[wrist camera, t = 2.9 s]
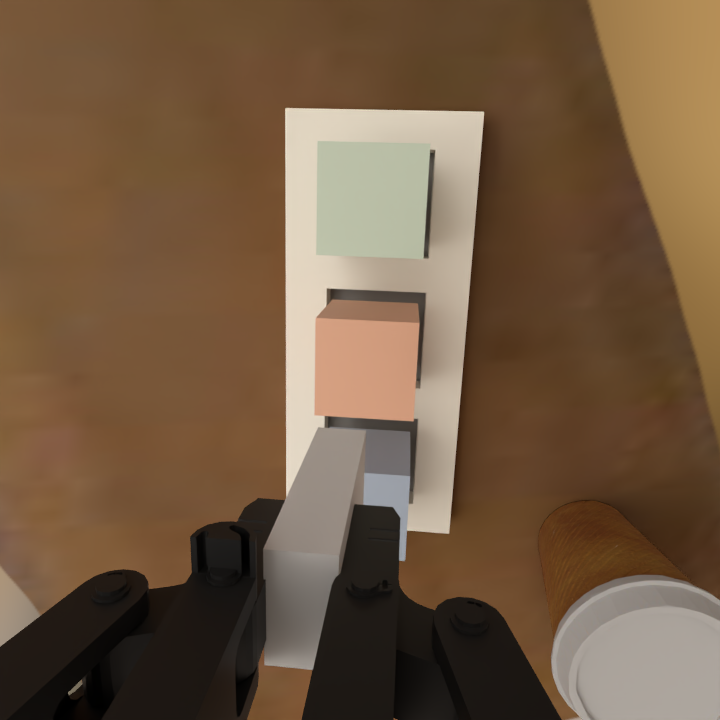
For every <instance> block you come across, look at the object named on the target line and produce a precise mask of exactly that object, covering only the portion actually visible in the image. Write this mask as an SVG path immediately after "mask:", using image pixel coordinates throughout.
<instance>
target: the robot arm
mask: <svg viewBox="0 0 720 720" xmlns="http://www.w3.org/2000/svg"><path fill="white" fill-rule="evenodd" d="M365 446H366V430H351V429H335V428H320V427H318V429H317V431H316V433H315V435H314V437H313V440H312V442H311V444H310V446H309V449H308V451H307V453H306V455H305V457H304V460H303V462H302V464H301V466H300V469H299V471H298V473H297V475H296V477H295V480H294V482H293V484H292V486H291V489H290V491H289V493H288V495H287V497H286V500H275V499H261V498H258V499H257V500H255V501H254V502H252V503H251V504H249V505H248V506H247V507H245V508H244V510H243V512H242V513H241V515H240V517H239V519H238V521H237V522H218V523H213V524H209V525H206V526H204V527H202V528H200V529H198V530H197V531H196V532H195V533H193V534H192V535H191V536H190V541H191V562H192V574H191V575H190V577H189V578H188V580H187V582H186V583H184V584H180V585H176V586H170V587H163V588H155V589H149V587H148V581H147V579H146V577H145V576H144V575H143V574H141V573H139V572H137V571H133V570H124V569H123V570H114V571H109V572H106V573H103V574H100V575H97V576H95V577H93V578H91V579H90V580H88V581H86V582H84V583H83V584H82V585H80V586H79V587H78V588H77V589H75V590H74V591H73V592H71V593H70V594H69V595H67V596H66V597H65V598H63V599H62V600H61V601H60V602H58V603H57V604H56V605H54V606H53V607H52V608H50V609H49V610H48V611H46V612H45V613H44V614H42V615H41V616H40V617H39V618H37V619H36V620H35V621H33V622H32V623H31V624H30V625H28V626H27V627H25V628H24V629H23V630H22V631H20V632H19V633H18V634H16V635H15V636H14V637H12V638H11V639H10V640H8V641H7V642H6V643H5V644H3V645H2V646H1V647H0V720H247V717H248V714H249V711H250V708H251V705H252V702H253V699H254V696H255V693H256V690H257V687H258V677H259V673H258V662H259V659H260V656H261V653H262V651H263V648H264V661H265V665H269V666H279V667H289V668H299V669H309V670H313V671H312V676H311V680H310V685H309V689H308V694H307V698H306V703H305V707H304V712H303V716H302V720H393V718H395V719H398V720H561V718H560V716H559V715H558V713H557V711H556V709H555V707H554V706H553V704H552V702H551V700H550V699H549V697H548V695H547V693H546V692H545V690H544V688H543V686H542V685H541V683H540V681H539V679H538V677H537V676H536V674H535V672H534V670H533V669H532V667H531V665H530V663H529V662H528V660H527V658H526V656H525V655H524V653H523V651H522V649H521V647H520V646H519V644H518V642H517V640H516V639H515V637H514V635H513V633H512V632H511V630H510V628H509V626H508V625H507V623H506V621H505V619H504V618H503V617H502V615H501V614H500V613H499V612H498V611H497V610H496V609H495V608H493V607H492V606H490V605H489V604H487V603H485V602H483V601H480V600H476V599H473V598H464V597H456V598H452V599H447V600H445V601H444V602H442V603H441V604H439V605H438V606H437V608H436V610H432V609H429V608H426V607H424V606H422V605H419V604H417V603H415V602H414V601H412V600H411V599H409V598H408V597H407V596H406V595H405V594H404V593H403V591H402V590H401V588H400V586H399V580H398V575H399V547H400V520H401V518H400V517H399V515H398V514H397V512H396V511H395V509H394V508H393V507H387V506H373V505H363V498H364V472H365ZM81 679H82V685H81V686H80V687H79V688H78V689H77V690H76V691H75V692H74V693H72V694H71V695H68V692H69V691H70V690H71V689H72V688H73V687H74V686H75V685H76V684H77V683H78V682H79V681H80V680H81Z"/></svg>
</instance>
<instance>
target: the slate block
mask: <svg viewBox="0 0 720 720" xmlns="http://www.w3.org/2000/svg"><path fill="white" fill-rule="evenodd" d="M330 428H335V429H351V430H366V446H365V472H364V498H363V505H373V506H387V507H393V508H394V509H395V511H396V512H397V514H398V515H399V517H400V518H401V520H400V547H399V561H405V554H406V537H407V521H408V504H409V488H410V432H407V431H391V430H375V429H359V428H343V427H330Z"/></svg>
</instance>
